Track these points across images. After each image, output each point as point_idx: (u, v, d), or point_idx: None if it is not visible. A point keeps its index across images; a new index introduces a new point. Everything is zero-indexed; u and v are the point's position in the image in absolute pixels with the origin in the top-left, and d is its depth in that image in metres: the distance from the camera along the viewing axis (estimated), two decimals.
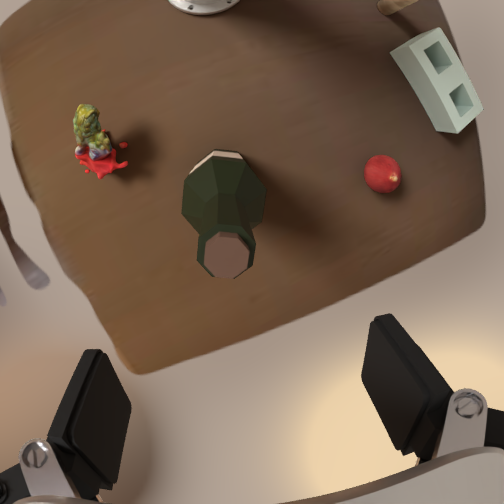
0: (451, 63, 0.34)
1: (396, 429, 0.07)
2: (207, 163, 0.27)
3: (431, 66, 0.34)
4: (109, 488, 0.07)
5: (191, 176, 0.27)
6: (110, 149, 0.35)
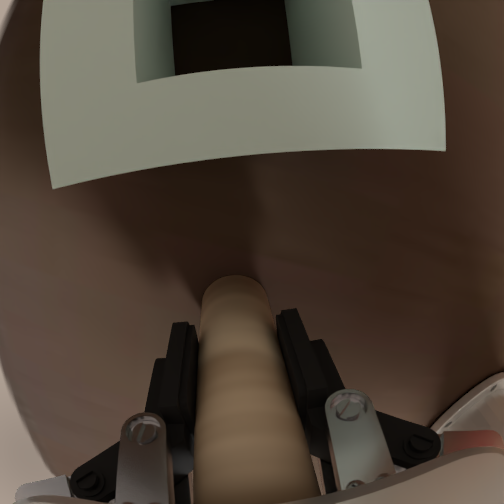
0: None
1: None
2: None
3: None
4: None
5: None
6: None
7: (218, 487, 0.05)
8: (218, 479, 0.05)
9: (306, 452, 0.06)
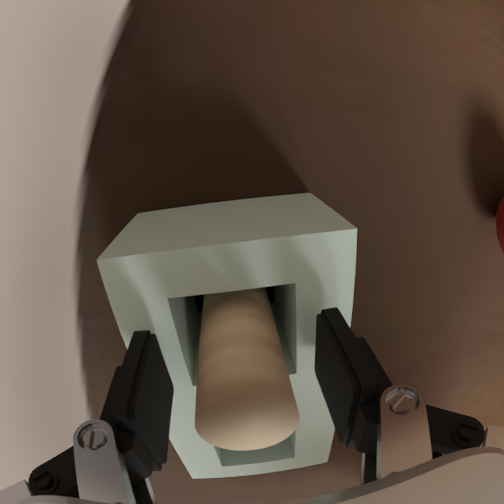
0: None
1: (338, 420, 0.08)
2: None
3: (304, 434, 0.14)
4: (158, 469, 0.08)
5: None
6: None
7: (215, 381, 0.08)
8: (215, 376, 0.08)
9: (283, 365, 0.09)
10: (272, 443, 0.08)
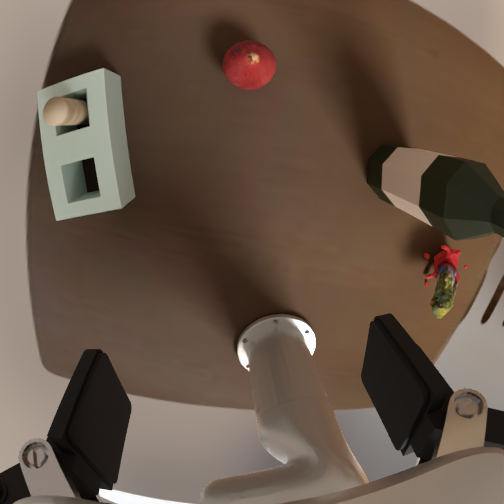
0: (61, 167, 0.29)
1: (395, 428, 0.07)
2: (460, 239, 0.25)
3: (100, 171, 0.29)
4: (109, 488, 0.07)
5: (472, 238, 0.25)
6: (447, 269, 0.39)
7: None
8: None
9: (71, 101, 0.24)
10: (60, 120, 0.23)
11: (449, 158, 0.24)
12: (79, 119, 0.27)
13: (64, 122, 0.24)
